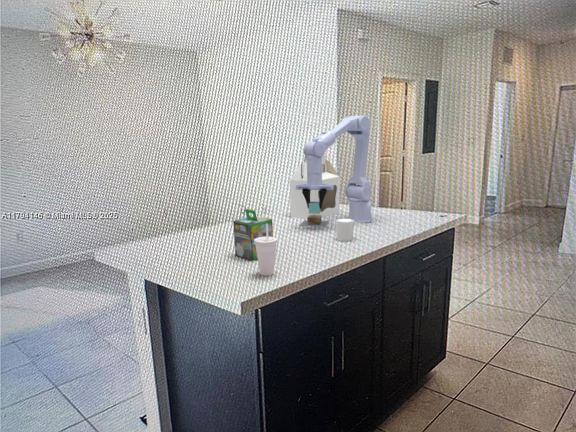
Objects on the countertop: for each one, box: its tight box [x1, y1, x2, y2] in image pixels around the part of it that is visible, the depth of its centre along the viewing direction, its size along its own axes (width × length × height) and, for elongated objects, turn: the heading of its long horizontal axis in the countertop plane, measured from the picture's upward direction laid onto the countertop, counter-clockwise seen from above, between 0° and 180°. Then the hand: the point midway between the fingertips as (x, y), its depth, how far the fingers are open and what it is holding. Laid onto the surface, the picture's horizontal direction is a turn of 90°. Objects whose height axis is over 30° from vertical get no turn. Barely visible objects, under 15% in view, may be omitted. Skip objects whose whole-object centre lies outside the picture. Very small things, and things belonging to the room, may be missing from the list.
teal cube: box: [309, 202, 321, 214], centre depth 158 cm, size 4×4×4 cm
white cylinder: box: [334, 218, 355, 242], centre depth 145 cm, size 7×7×7 cm
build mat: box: [298, 219, 330, 228], centre depth 170 cm, size 11×11×1 cm
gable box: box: [289, 153, 340, 220], centre depth 186 cm, size 22×13×28 cm, turn 144°
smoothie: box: [254, 224, 278, 277], centre depth 110 cm, size 6×6×14 cm
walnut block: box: [306, 215, 322, 225], centre depth 170 cm, size 5×5×3 cm
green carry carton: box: [232, 208, 274, 262], centre depth 128 cm, size 9×9×15 cm
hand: (314, 208), depth 159 cm, fingers closed on teal cube, 4 cm apart
